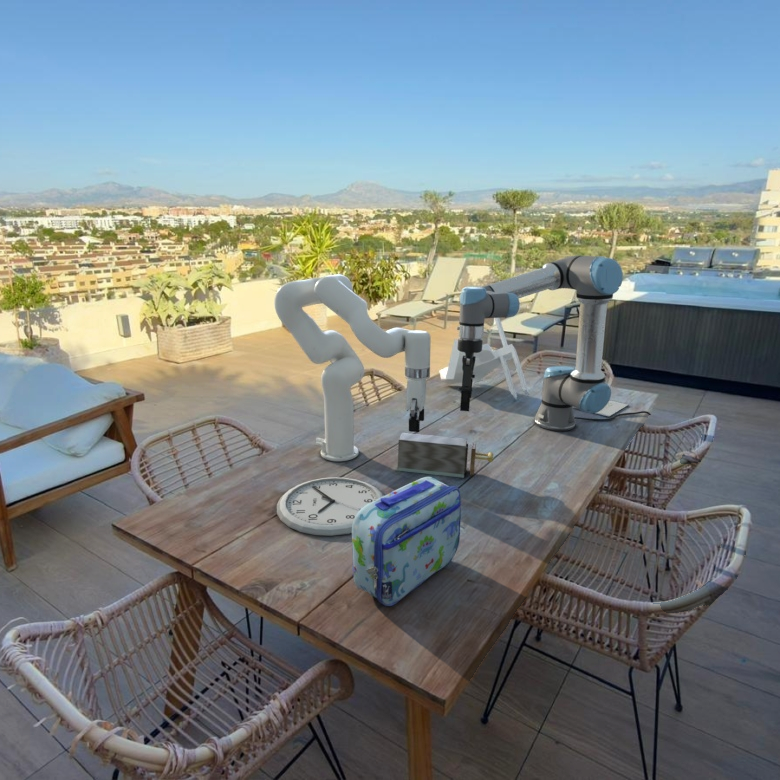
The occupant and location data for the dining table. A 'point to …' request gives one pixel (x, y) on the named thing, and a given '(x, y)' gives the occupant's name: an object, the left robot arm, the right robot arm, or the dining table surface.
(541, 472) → the dining table surface
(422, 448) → the cabinet
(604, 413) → the invitation card
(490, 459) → the drawer
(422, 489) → the lunch box
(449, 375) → the white plastic object
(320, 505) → the wall clock
